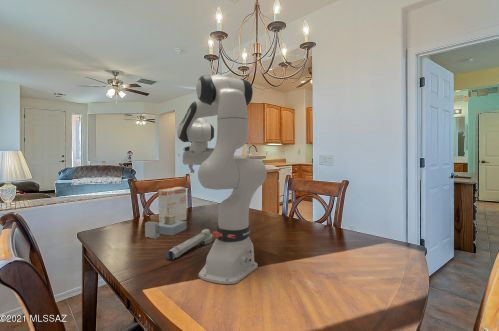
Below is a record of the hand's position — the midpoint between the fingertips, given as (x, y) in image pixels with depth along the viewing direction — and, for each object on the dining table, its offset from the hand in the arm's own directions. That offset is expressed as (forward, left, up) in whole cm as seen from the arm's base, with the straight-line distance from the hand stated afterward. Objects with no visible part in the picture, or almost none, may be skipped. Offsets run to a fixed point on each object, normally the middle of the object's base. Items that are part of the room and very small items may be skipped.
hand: (199, 173), depth 148 cm
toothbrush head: (-33, -16, -30) cm, 47 cm away
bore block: (-15, +9, -29) cm, 34 cm away
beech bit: (-15, +9, -29) cm, 34 cm away
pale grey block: (-26, +11, -29) cm, 41 cm away
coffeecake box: (+1, +19, -29) cm, 35 cm away
